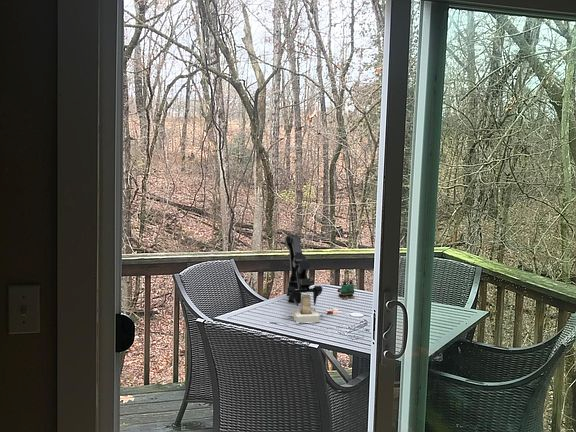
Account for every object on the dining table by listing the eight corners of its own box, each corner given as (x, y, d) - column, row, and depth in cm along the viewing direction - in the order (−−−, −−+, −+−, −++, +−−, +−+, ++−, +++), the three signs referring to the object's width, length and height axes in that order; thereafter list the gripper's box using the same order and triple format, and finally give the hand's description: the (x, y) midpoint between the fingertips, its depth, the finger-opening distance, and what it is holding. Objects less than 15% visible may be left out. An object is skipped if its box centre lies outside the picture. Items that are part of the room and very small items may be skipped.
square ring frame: (292, 316, 329) (292, 308, 328) (313, 314, 331) (314, 307, 330) (296, 324, 317) (296, 316, 317) (319, 323, 320) (319, 315, 319)
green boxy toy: (347, 277, 367) (356, 280, 358) (347, 294, 368) (356, 298, 360) (334, 279, 363) (343, 282, 354) (334, 296, 364) (343, 300, 355)
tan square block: (301, 318, 326) (301, 294, 323) (308, 318, 327) (309, 294, 324) (302, 321, 322) (303, 297, 319) (310, 320, 323) (310, 296, 320)
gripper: (287, 272, 322) (291, 299, 313) (322, 271, 325) (326, 297, 317) (284, 282, 331) (287, 308, 322) (318, 281, 334) (322, 307, 326)
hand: (306, 305), depth 322 cm, fingers open, 9 cm apart
